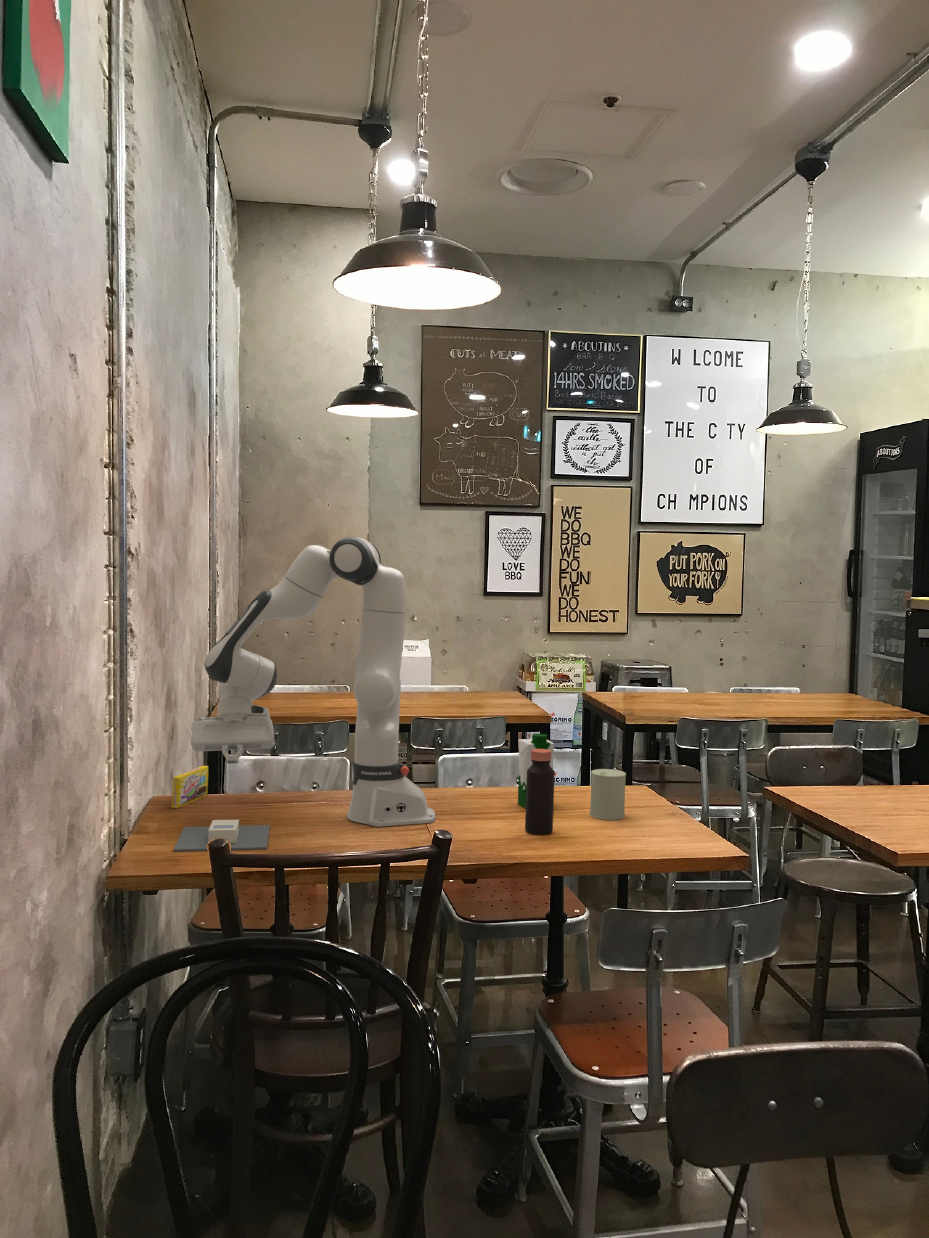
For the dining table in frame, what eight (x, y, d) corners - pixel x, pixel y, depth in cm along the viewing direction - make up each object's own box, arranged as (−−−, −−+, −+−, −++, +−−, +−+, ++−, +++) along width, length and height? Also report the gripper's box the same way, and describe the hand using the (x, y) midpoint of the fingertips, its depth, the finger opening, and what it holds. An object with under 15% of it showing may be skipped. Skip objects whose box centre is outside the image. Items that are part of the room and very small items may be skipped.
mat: (269, 827, 217) (269, 825, 217) (266, 849, 200) (266, 847, 200) (184, 828, 214) (184, 826, 214) (173, 851, 196) (173, 849, 196)
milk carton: (525, 811, 239) (527, 737, 238) (513, 803, 247) (515, 731, 246) (555, 809, 241) (558, 736, 241) (542, 801, 250) (544, 730, 249)
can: (582, 815, 236) (584, 770, 236) (602, 809, 243) (603, 765, 242) (612, 822, 230) (613, 776, 229) (631, 816, 237) (633, 771, 236)
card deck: (239, 819, 211) (236, 829, 202) (238, 832, 211) (235, 843, 202) (212, 819, 210) (208, 830, 201) (212, 832, 210) (208, 843, 201)
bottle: (524, 827, 223) (526, 747, 222) (551, 828, 223) (554, 748, 222) (525, 834, 217) (527, 752, 216) (553, 835, 216) (556, 753, 215)
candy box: (178, 809, 232) (178, 777, 232) (170, 808, 232) (171, 777, 232) (208, 795, 248) (208, 765, 248) (201, 794, 248) (201, 764, 248)
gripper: (191, 710, 224) (186, 756, 215) (274, 707, 228) (273, 753, 219) (193, 725, 229) (189, 771, 220) (275, 722, 232) (274, 767, 223)
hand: (232, 762), depth 219 cm, fingers closed
